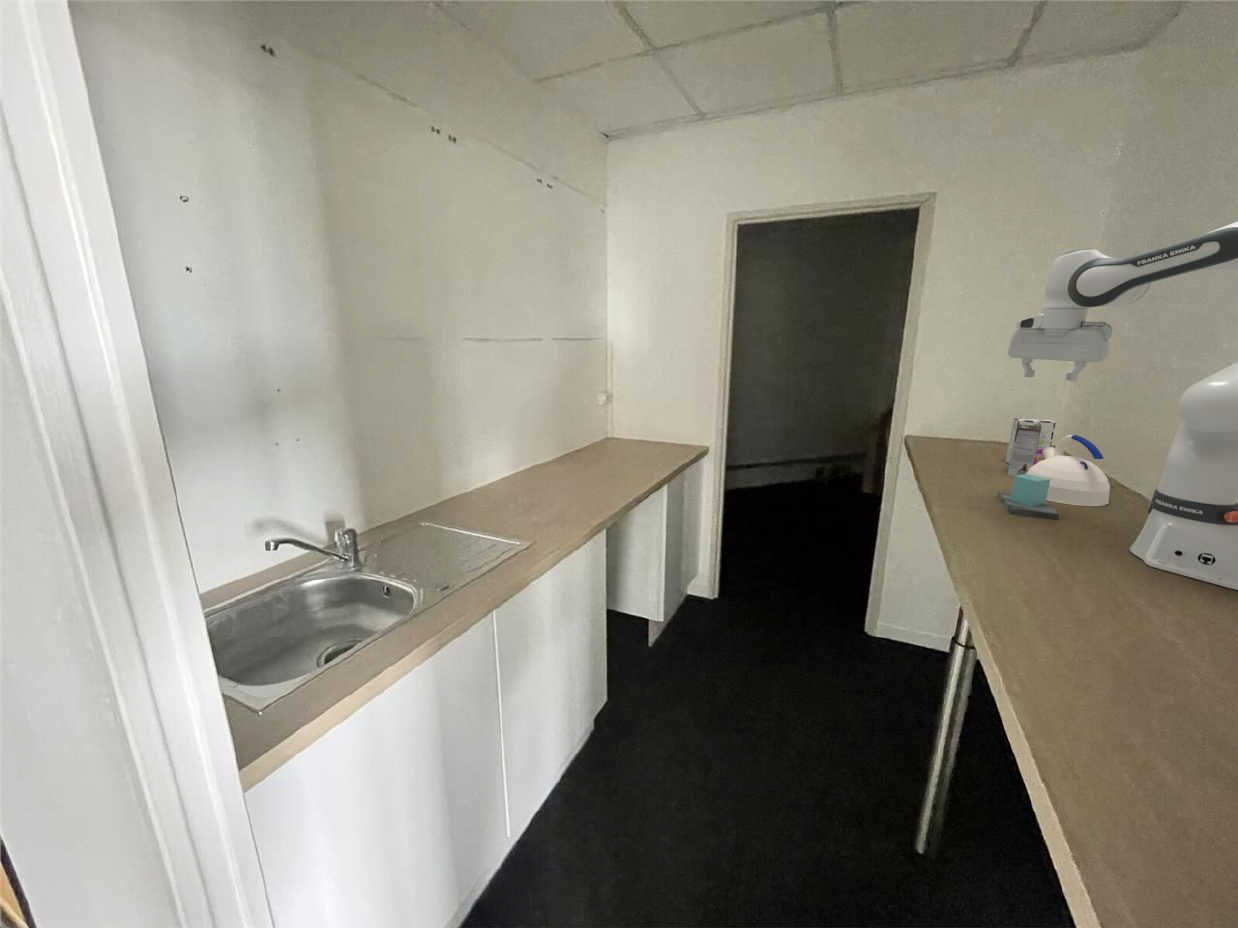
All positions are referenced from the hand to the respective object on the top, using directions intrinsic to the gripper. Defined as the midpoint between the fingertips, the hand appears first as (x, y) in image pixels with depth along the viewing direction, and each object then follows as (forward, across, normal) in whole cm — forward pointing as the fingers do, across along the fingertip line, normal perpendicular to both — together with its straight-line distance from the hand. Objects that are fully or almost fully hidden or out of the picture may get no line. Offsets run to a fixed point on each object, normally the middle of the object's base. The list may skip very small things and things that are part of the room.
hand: (1049, 378), depth 131 cm
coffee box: (+35, +23, -38) cm, 57 cm away
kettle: (+36, +4, -26) cm, 44 cm away
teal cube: (+34, +1, -4) cm, 34 cm away
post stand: (+35, +1, -4) cm, 35 cm away
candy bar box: (+35, +30, -53) cm, 70 cm away
